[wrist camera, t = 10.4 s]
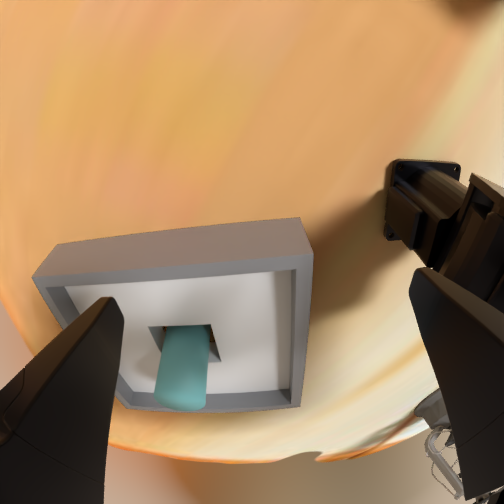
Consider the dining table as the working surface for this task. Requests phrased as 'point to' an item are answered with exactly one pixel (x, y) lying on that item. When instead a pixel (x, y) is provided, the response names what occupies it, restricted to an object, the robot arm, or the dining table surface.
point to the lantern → (438, 420)
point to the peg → (183, 368)
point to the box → (198, 305)
